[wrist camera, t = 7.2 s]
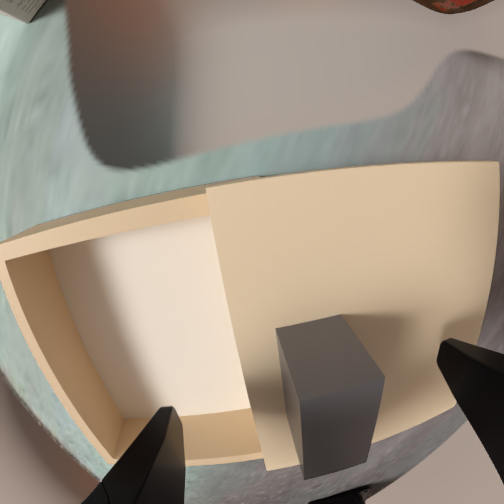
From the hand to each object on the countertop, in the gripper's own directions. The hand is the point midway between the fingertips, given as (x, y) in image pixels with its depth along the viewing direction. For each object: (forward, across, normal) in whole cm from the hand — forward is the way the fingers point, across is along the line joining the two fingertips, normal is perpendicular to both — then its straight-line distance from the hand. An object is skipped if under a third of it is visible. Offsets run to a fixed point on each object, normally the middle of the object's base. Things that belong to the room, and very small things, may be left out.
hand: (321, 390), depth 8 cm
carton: (+5, +6, 0) cm, 8 cm away
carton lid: (+2, -3, 0) cm, 3 cm away
